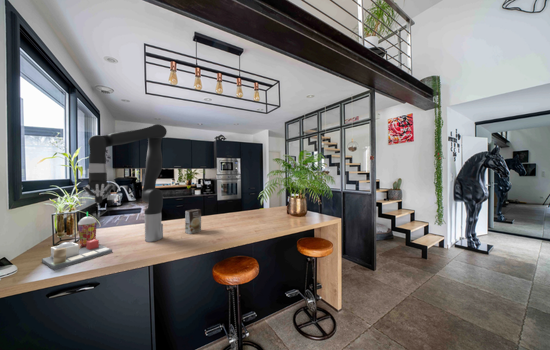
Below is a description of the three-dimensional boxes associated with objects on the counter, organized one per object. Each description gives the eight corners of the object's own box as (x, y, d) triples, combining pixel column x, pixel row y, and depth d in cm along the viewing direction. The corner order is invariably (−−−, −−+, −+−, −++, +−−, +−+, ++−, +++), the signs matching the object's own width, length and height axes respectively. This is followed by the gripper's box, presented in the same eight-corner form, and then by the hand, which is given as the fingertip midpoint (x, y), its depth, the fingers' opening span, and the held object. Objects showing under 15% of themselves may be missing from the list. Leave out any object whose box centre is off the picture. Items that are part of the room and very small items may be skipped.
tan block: (66, 259, 96) (66, 247, 96) (65, 262, 93) (66, 249, 93) (53, 261, 93) (54, 249, 93) (53, 264, 90) (53, 251, 91)
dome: (70, 250, 105) (70, 239, 105) (75, 253, 103) (75, 241, 102) (54, 255, 100) (54, 243, 100) (58, 257, 97) (58, 245, 97)
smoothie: (75, 246, 117) (74, 212, 117) (92, 241, 125) (91, 210, 124) (83, 248, 114) (82, 213, 114) (100, 243, 122) (99, 211, 122)
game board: (98, 246, 117) (97, 236, 117) (112, 252, 109) (112, 240, 109) (41, 261, 97) (41, 249, 97) (54, 269, 89) (53, 256, 89)
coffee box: (189, 234, 139) (189, 211, 138) (185, 232, 142) (184, 210, 142) (201, 231, 146) (201, 209, 146) (196, 229, 150) (196, 208, 150)
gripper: (109, 171, 117) (109, 200, 117) (79, 172, 105) (79, 204, 106) (115, 171, 113) (116, 201, 114) (85, 172, 102) (86, 205, 102)
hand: (98, 203), depth 110 cm, fingers closed
